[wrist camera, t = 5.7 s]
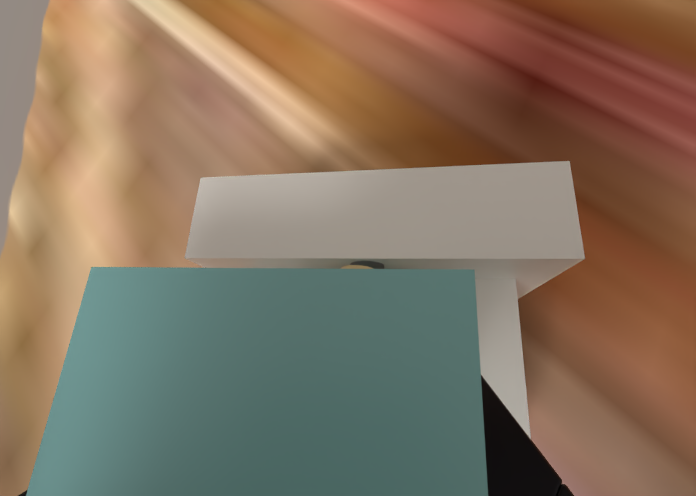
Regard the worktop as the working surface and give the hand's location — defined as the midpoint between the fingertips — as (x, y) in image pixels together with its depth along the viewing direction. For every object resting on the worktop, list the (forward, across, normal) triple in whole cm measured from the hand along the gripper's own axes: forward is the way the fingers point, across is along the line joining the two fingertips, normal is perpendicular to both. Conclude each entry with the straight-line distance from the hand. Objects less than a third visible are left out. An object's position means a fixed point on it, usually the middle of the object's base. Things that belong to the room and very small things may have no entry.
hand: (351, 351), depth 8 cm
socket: (+7, 0, +5) cm, 9 cm away
